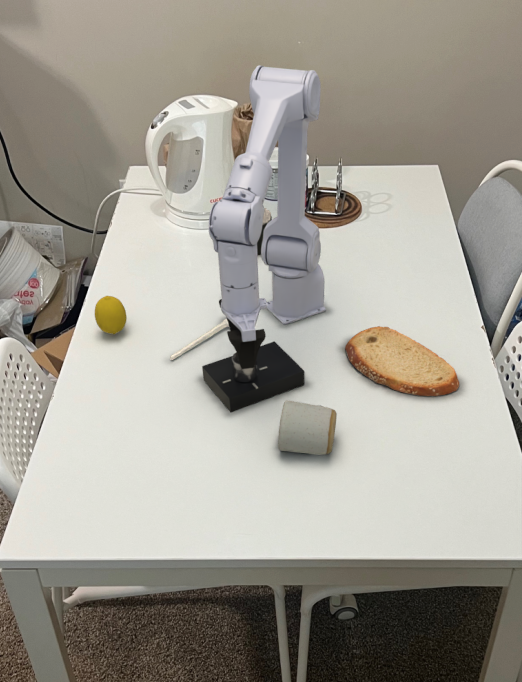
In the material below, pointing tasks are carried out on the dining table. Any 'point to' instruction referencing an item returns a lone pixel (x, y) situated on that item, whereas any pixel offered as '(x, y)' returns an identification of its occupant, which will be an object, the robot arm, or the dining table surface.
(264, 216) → the sushi
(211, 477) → the dining table surface
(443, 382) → the bread slice
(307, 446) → the ceramic mug
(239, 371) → the hob knob
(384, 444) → the dining table surface
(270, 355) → the black knob base
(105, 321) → the lemon
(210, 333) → the fork
